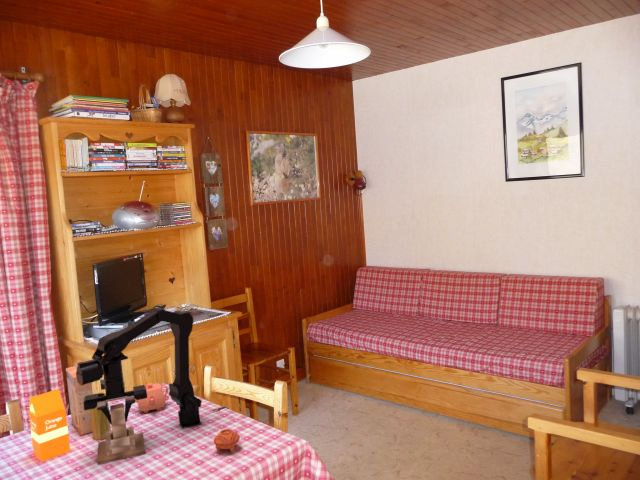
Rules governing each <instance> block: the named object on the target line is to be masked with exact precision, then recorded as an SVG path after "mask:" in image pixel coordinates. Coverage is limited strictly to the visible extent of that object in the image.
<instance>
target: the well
mask: <svg viewBox="0 0 640 480" xmlns="http://www.w3.org/2000/svg"><path fill="white" fill-rule="evenodd" d="M126 430H127V437H122V438H118V439H114V438H113V430H111V431H109V432H106V438H105V440H102V441H98V442H97V457H96V458H97V465H102V464H105V463H111V462H115V461H120V460H125V459H128V458H133V457H137V456H141V455H146V445H145V438H144V433H143V432H140V433H139V432H138V433H136V434H135V428H134V426H129V427H126Z"/></svg>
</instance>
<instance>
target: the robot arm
mask: <svg viewBox="0 0 640 480" xmlns="http://www.w3.org/2000/svg"><path fill="white" fill-rule="evenodd" d="M161 322H165V323H169V325H170V330H171V333H172V334H173V335H172V336H173V337H174V380H173V382H172V383H169V384H168V396H170V398H171V400H172V401H173V402H175V403H176V405H177V406H179V410H177V413H178V423H179V425H180V426H181V428H182V429H185V428H189V427H193V426H198V425H202V422H201V418H200V417H201V416H200V409H199V408H201V407H202V400H201V399H200V398H198V397H197V396H195V391H194V386H193V384H192V382H191V379H190V347H189V345H190V341H189V340H190V339H189V338H190V335H191V334H192V331H193V326H194V316H193V315H192V314H190V313H189V312H186V311H183V310H175V311H173V312H172V311H168V310H166V309H164V308H160V307H155V308H154V309H153V310H151V311H150V312H148V313H146V314H145V315H144V316H142V317H141V318H139V319H137V320H136V321H134V322H132V323H131V324H129V325H127V326H126V327H124V328H123V329H121V330H118V331H113V332H111V333H108V334H106V335H103V336H101V337H100V338H99V339H98V343H97V347H96V349H95V351H94V353H93V355H92V356H91V359H89V360H87V361H80V362H77V364H76V366H77V365H78V367H77V370H76V377H77V381H78V383H79V384H80V385H85V384H88V383H91V382H92V383H94V382H98V381H100V382H99V383H100V389H101V390H105V392H104V393H105V394H106V396H101V397H98V396H97V394H96V393H94V394H93V395H87V396H85V397H84V401H83V405H84V410H90V409H95V408H96V407H97V410H101V411H102V412H103V413H104V414H105V416H106V417H107V419H108V421H109V423H110V426H112V421H111V413H110V406H109V402H112V401H118V400H122V399H124V413H125V422H126V423H127V421H128V418H129V414H130V410H131V407H132V405H133V404H135V403H136V401H135V399H136V400H140V399H146V398H147V390H146V386H145V384H142V385H136V386H133V387H132V390H128V391H126V387H125V381H124V373H123V371H124V370H123V365H122V361H125V360H127V359H128V358H129V357H128V355H125V354H124V353H123V351H124V350H125V349H126V348H127V347H128V345H129V344H130V343H131V342H133V340H135V339H137V338H138V337H139V336H141V335H143V334H144V333H146V332H147V331H149V330H151V329H152V328H153V327H156V325H158V324H159V323H161Z"/></svg>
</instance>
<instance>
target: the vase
mask: <svg viewBox="0 0 640 480" xmlns="http://www.w3.org/2000/svg"><path fill="white" fill-rule="evenodd" d="M95 394H97V396H98V397H101V396H106V393H105V392H97V393H95ZM91 419H92V432H91V433H92V439H93V440H96V441H99V440H106V432H109V431H112V429H111V424H110V423H109V421H108V419H107V417H106V416H105V414H104V413H103V412H102V411H101V410H97V407H96V408H95V409H91Z"/></svg>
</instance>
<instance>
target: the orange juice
mask: <svg viewBox="0 0 640 480" xmlns="http://www.w3.org/2000/svg"><path fill="white" fill-rule="evenodd" d="M27 413H28V417H29V419H28V420H29V427H30V434H31V440H32V447H33V456H35V457H36V458H37V459H38V460H39V461H40V462H46V461H48V460H50V459H53V458H56V457H58V456H61V455H64V454H66V453H69V452H71V445H70V438H69V428H68V422H67V421H68V420H67V412H66V407H65V404H64V401H63V399H62V395H61V392H60V389H59V388H57V389H54V390H51V391H46V392H44V393H41V394H37V395H34V396H31V397H29V405H28V412H27Z"/></svg>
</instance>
